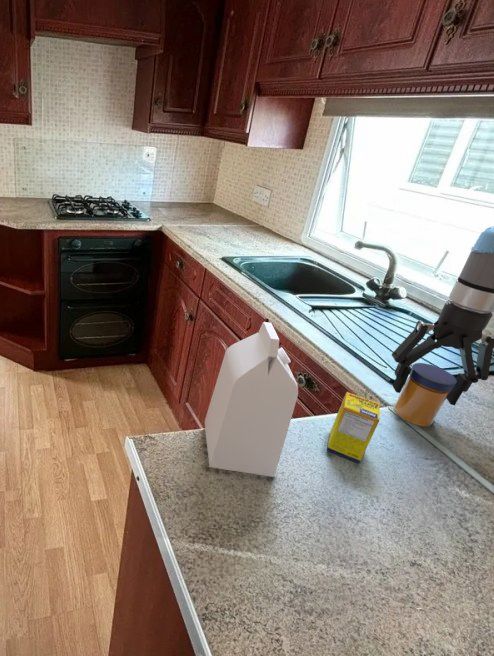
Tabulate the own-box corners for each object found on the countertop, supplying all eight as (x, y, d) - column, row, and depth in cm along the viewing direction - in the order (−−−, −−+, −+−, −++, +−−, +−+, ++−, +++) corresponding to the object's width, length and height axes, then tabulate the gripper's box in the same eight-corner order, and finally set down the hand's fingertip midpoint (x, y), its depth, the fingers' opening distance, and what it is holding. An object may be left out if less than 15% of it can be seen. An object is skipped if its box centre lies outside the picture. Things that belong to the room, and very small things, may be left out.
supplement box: (360, 445, 82) (380, 402, 77) (359, 464, 77) (380, 420, 72) (328, 432, 84) (346, 390, 79) (325, 450, 79) (344, 406, 75)
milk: (204, 421, 84) (230, 310, 72) (260, 430, 83) (296, 318, 72) (209, 467, 73) (241, 344, 61) (274, 477, 72) (318, 354, 61)
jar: (430, 412, 94) (450, 375, 89) (433, 431, 88) (455, 392, 83) (392, 399, 97) (410, 363, 92) (393, 417, 91) (412, 379, 86)
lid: (460, 386, 87) (464, 379, 86) (442, 396, 83) (446, 388, 82) (420, 366, 93) (423, 359, 92) (401, 374, 89) (405, 367, 88)
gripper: (525, 309, 81) (472, 397, 91) (400, 288, 86) (363, 373, 96) (549, 326, 74) (490, 419, 84) (413, 301, 79) (371, 392, 89)
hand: (422, 395), depth 90 cm, fingers open, 10 cm apart
